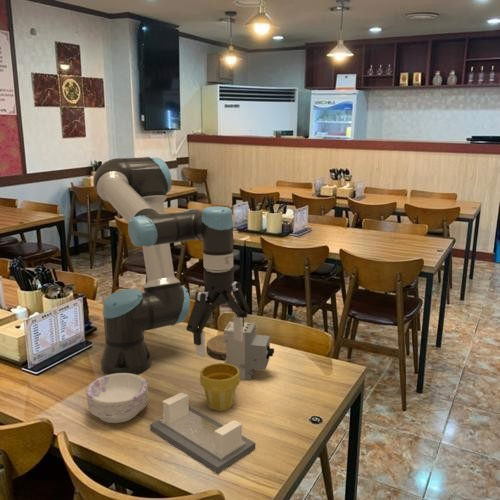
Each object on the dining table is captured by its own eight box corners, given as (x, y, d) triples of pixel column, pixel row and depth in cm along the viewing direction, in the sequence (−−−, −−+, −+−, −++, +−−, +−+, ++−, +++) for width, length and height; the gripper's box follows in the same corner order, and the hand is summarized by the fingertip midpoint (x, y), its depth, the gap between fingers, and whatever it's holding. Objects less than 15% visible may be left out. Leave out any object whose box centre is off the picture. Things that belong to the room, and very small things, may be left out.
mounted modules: (163, 419, 126) (162, 401, 125) (182, 409, 131) (181, 392, 130) (222, 455, 113) (222, 435, 111) (241, 443, 117) (241, 424, 116)
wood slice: (197, 350, 171) (197, 342, 171) (234, 338, 182) (234, 330, 181) (226, 366, 160) (226, 357, 159) (264, 352, 170) (264, 344, 169)
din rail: (159, 422, 126) (159, 420, 126) (184, 409, 132) (184, 407, 132) (221, 461, 112) (221, 458, 112) (246, 444, 117) (246, 442, 117)
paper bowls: (151, 424, 128) (150, 396, 126) (88, 434, 124) (86, 405, 122) (146, 395, 142) (144, 368, 140) (88, 403, 138) (86, 376, 136)
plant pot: (215, 391, 144) (214, 359, 142) (246, 401, 139) (246, 367, 137) (193, 407, 136) (192, 374, 133) (225, 419, 131) (225, 384, 128)
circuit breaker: (270, 382, 149) (271, 334, 146) (223, 377, 152) (223, 330, 149) (274, 370, 156) (275, 324, 153) (229, 366, 159) (229, 321, 156)
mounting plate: (150, 429, 126) (150, 424, 125) (187, 410, 134) (187, 405, 134) (217, 473, 110) (217, 467, 110) (255, 448, 118) (255, 442, 118)
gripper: (190, 282, 117) (193, 367, 122) (262, 262, 135) (262, 337, 140) (169, 276, 122) (173, 358, 127) (242, 257, 140) (242, 330, 145)
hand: (220, 347), depth 133 cm, fingers open, 13 cm apart
